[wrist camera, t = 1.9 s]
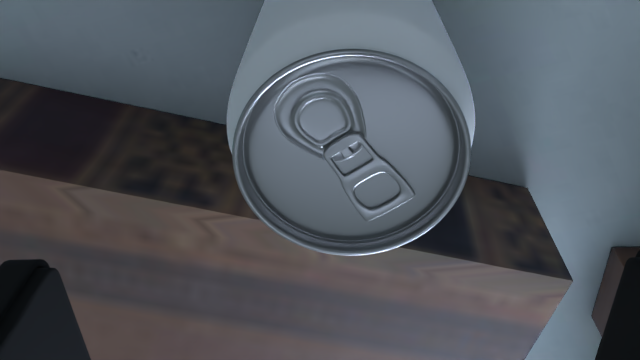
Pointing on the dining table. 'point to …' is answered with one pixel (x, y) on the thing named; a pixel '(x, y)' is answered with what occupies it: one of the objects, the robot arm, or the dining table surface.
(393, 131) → the can
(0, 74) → the dining table surface
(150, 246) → the book
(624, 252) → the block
